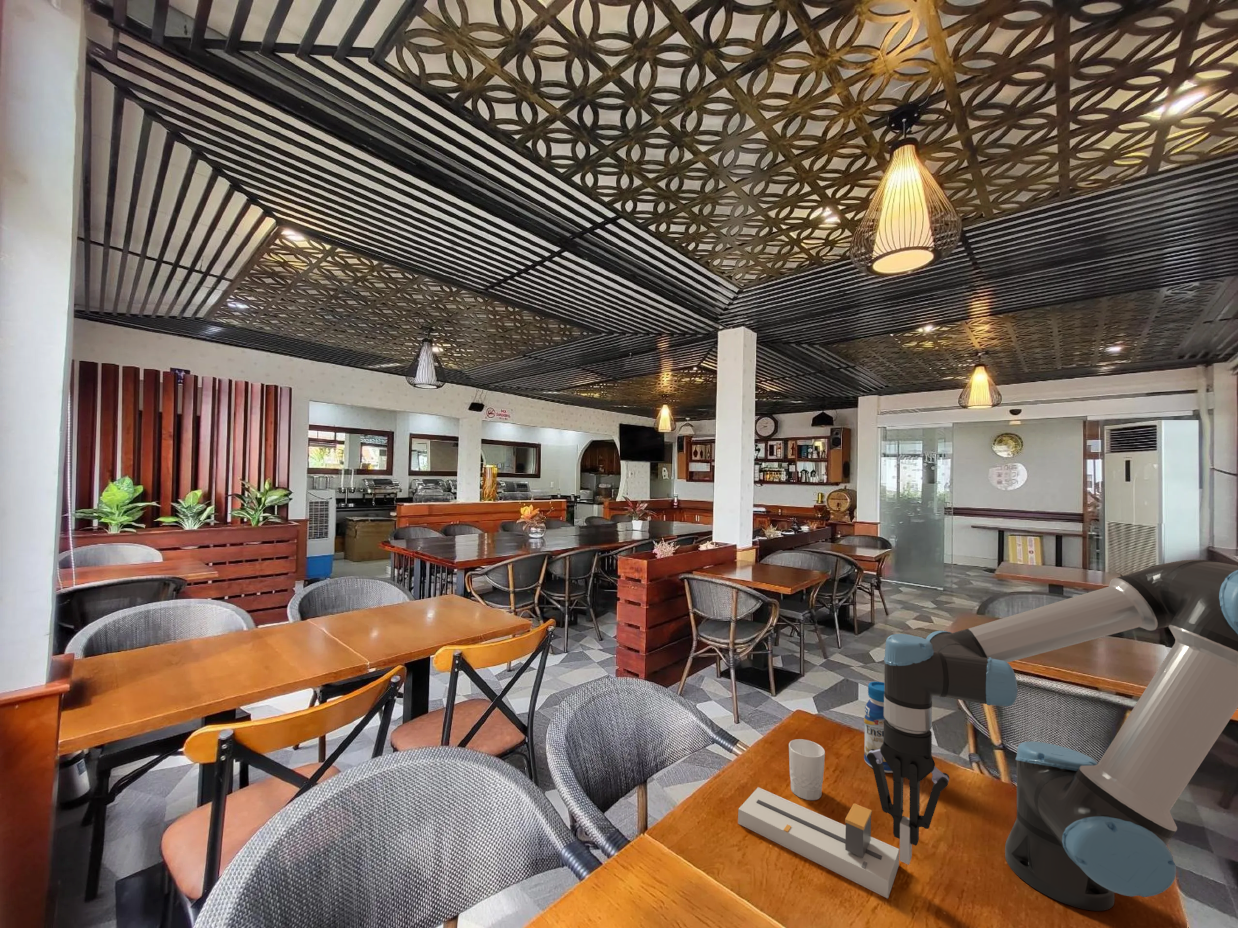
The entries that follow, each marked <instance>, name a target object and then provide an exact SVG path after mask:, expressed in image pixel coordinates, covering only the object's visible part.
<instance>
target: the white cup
mask: <svg viewBox="0 0 1238 928" xmlns="http://www.w3.org/2000/svg"><path fill="white" fill-rule="evenodd" d="M825 755H826V751H825V748H824V747H823V746H822V745H820V744H819V743H817V742H814V741H813V740H812V741H811V740H809V739H802V738H798V739H792V740H790V741H789V743H788V756H789V757H788V761H789V766H788V767H789V777H790V778H789V779H790V791H791V792H792V794H794V795H795V796H796V797H799V798H801V799H804V800H806V801H818V800H820V798H821V797H822V791H823V790H822V789H823V783H824V782H823V781H824V772H825V757H826V756H825Z"/></svg>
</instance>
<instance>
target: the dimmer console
mask: <svg viewBox="0 0 1238 928" xmlns="http://www.w3.org/2000/svg"><path fill="white" fill-rule="evenodd" d="M737 815H738V816H737V824H738V825H740V826H742V827H745V828H746V829H748V830H750V831H752V832H754V833H756V834H758V835H760V836H762V837H764V838H766V839H768V840H769V841H772V842H773V843H775V844H778V845H780V846H782V847H784V848H786V849H788V850H789V851H792V852H794V853H796V854H798V855H799V856H802V857H804V858H806V859H808V860H810V861H811V862H814V863H816V864H818V865H820V866H821V867H824V868H826V869H828V870H830V871H832V872H834V873H835V874H838V875H840V876H842V877H843V878H846V879H848V880H849V881H852V882H854V883H856V884H857V885H860V886H862V887H864V888H866V889H868V890H870V891H872V892H874V893H876V894H877V895H879V896H882V897H884V898H886V899H889V896H890V894H891V891H892V888H893V885H894V882H895V879H896V875H897V872H898V869H899V866H900V848H898V847H895V846H893V845H891V844H888V843H887V842H884V841H881V840H880V839H878V838H875V837H873V836H871V841H870V843H869V845H868V848H867V850H866V852H865V854H864V857H863V858H862V857H859V856H857V855H855V854H853V853H851V852H849V851H847V850H845V840H846V824H843V823H841V822H838V821H836V820H834V819H832V818H829V817H827V816H825V815H823V814H820V813H818V812H816V811H813V810H812V809H810V808H807V807H804V806H802V805H800V804H797V803H795V802H793V801H790V800H788V799H786V798H783V797H781V796H780V795H777V794H774V793H773V792H770V791H768V790H765V789H763V788H761V787H759V786H757V788H756V789H754V791H753V792H752V793H751V794H750V796H748V798H747V799H746V800H745V801H744V802H743V804H742V803H741V805H740V807H739V808H738V813H737Z"/></svg>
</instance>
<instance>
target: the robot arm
mask: <svg viewBox="0 0 1238 928" xmlns="http://www.w3.org/2000/svg"><path fill="white" fill-rule="evenodd" d="M1167 627H1168V629H1169V630H1170V632H1171V634H1172V635H1173V636H1172V637H1174V639H1175V641H1174V644H1173V645H1172V647H1171V648H1170V650H1169V652H1168V653H1167V655H1166V656H1165V658H1164V660H1163V661H1162V663H1161V664H1160V666H1159V667H1158V669H1157V670H1156V672H1155V674H1154V675H1153V677H1152V679H1151V680H1150V681H1149V683H1148V685H1147V686H1146V688H1145V689H1144V691H1143V693H1142V694H1141V695H1140V697H1139V699H1138V700H1137V702H1136V704H1135V705H1134V706H1133V708H1132V710H1131V711H1130V713H1129V715H1128V716H1127V718H1126V719H1125V720H1124V723H1123V724H1122V726H1121V727H1120V729H1119V730H1118V732H1117V733H1116V735H1115V737H1114V738H1113V739H1112V741H1111V743H1110V744H1109V746H1108V747H1107V749H1106V750H1105V752H1104V754H1103V755H1102V757H1101V759H1100V760H1099V762H1097V760H1095V759H1094V758H1092V757H1090V756H1089V755H1087V754H1086V753H1085V754H1084V753H1082V752H1079V751H1077V750H1075V749H1071V748H1068V747H1065V746H1061V745H1057V744H1053V743H1048V742H1042V741H1031V740H1030V741H1023V742H1020V743H1019V744H1018V745H1017V748H1016V749H1017V751H1016V752H1017V753H1016V757H1015V761H1016V819H1015V822H1014V824H1013V825H1012V828H1011V831H1010V832H1009V834H1008V836H1007V838H1006V842H1005V844H1004V845H1005V846H1004V847H1005V848H1004V853H1005V854H1004V857H1005V861H1006V864H1007V865H1008V867H1009V868H1010V870H1012V871H1013V873H1014V874H1016V876H1017V877H1019V878H1020V879H1021V880H1023V882H1025V883H1026V884H1028V885H1029V886H1030V887H1031V888H1034V889H1035V890H1036V891H1038V892H1040V893H1042V894H1043V895H1045V896H1047V897H1049V898H1050V899H1053V900H1056V901H1057V902H1060V903H1062V904H1065V905H1067V906H1068V905H1069V906H1071V907H1074V908H1077V909H1082V910H1086V911H1094V912H1103V911H1107V910H1110V909H1111V908H1113V907H1114V905H1115V894H1119V895H1121V896H1125V897H1126V896H1127V897H1133V898H1134V897H1136V896H1138V897H1139V896H1140V897H1143V898H1148V897H1154V896H1157V895H1160V894H1161V893H1164V892H1165V891H1167V890H1168V889H1169V888H1170V887H1171V886H1172V885H1173V883H1174V881H1175V880H1176V876H1177V864H1176V863H1175V861H1174V856H1173V854H1172V852H1171V849H1169V847H1168V844H1169V843H1170V841H1171V840H1172V838H1173V836H1174V835H1175V833H1176V832H1177V831H1178V826H1177V824H1176V822H1175V820H1174V818H1173V816H1172V814H1171V810H1172V808H1173V806H1174V805H1175V803H1176V802H1177V801H1178V799H1179V798H1180V796H1181V794H1183V792H1184V790H1185V788H1186V787H1187V785H1188V784H1189V783H1190V781H1191V779H1192V778H1193V776H1194V775H1195V773H1197V770H1198V768H1199V767H1200V766H1201V764H1202V763H1203V761H1204V760H1205V758H1206V756H1207V755H1208V754H1209V752H1210V750H1211V749H1212V747H1213V746H1214V745H1215V743H1216V742H1217V740H1218V739H1219V737H1220V736H1221V734H1222V733H1223V731H1224V730H1225V728H1226V726H1227V725H1228V723H1229V722H1230V720H1231V719H1232V718H1233V716H1234V714H1235V712H1236V711H1237V709H1238V565H1236V564H1229V563H1225V562H1219V561H1215V560H1210V559H1208V560H1207V559H1182V560H1176V561H1171V562H1167V563H1162V564H1158V565H1155V566H1151V567H1148V568H1145V569H1141V570H1138V571H1134V572H1131V573H1127V574H1125V575H1120V576H1117V577H1114V578H1112V579H1111V580H1110V582H1109V585H1108V586H1106V587H1103V588H1100V589H1096V590H1092V591H1089V592H1087V593H1083V594H1079V595H1076V596H1073V597H1069V598H1066V599H1062V600H1059V601H1055V602H1053V603H1049V604H1046V605H1042V606H1040V607H1037V608H1034V609H1029V610H1026V611H1023V612H1019V613H1017V614H1016V613H1015V614H1013V615H1010V616H1006V617H1002V618H999V619H996V620H992V621H990V622H986V623H982V624H979V625H976V626H973V627H969V628H965V629H961V630H959V631H954V632H951V631H947V630H936V631H933V632H931V633H930V634H928V635H927V637H925V638H924V637H921V636H917V635H912V634H907V633H894V634H891V635H889V636H888V637H886V638H885V639H886V640H885V648H884V657H883V661H884V662H883V663H884V664H883V665H884V666H883V668H884V670H883V673H884V675H883V677H884V679H883V680H884V681H883V683H884V718H885V720H884V736H883V744H882V746H881V747H880V749H878V750H874V749H871V750H870V751H869V753H868V755H867V758H868V760H869V762H870V764H871V765H872V767H873V768H872V767H871V768H872V771H873V776H874V779H875V784H876V788H877V791H878V797H879V801H880V806H881V807H880V808H881V810H882V812H883V813H886V814H889V815H890V816H891V817H892V822H893V823H892V833H893V836H894V837H895V838H896V839H899V862H902V863H904V864H906V865H908V866H910V864H911V861H912V856H913V855H912V854H913V846H915V847H917V845H918V844H919V840H920V839H919V838H920V828H923V829H925V830H928V829H929V828H930V826H931V824H932V823H931V822H932V820H933V816H934V814H935V810H936V808H937V805H938V801H939V799H940V796H941V792H942V791H944V790H945V788H947V787H948V786H949V781H950V776H949V774H948V773H947V772H946V773H945V772H942V771H941V770H940V769H938V767H936V762H935V759H934V758H933V755H932V753H933V752H932V749H933V747H932V746H933V743H932V742H933V741H932V740H933V737H932V736H933V734H932V731H931V729H932V728H933V696H935V697H940V698H946V699H947V698H948V699H953V700H957V701H958V700H959V701H965V702H970V703H978V704H982V705H987V706H1001V707H1010V706H1012V705H1014V704H1015V702H1016V700H1017V698H1018V697H1017V696H1018V681H1017V677H1016V672H1015V671H1014V669H1013V667H1012V665H1011V664H1010V663H1011V662H1015V661H1018V660H1022V659H1025V658H1029V657H1033V656H1036V655H1041V654H1044V653H1048V652H1051V651H1052V652H1053V651H1055V650H1059V649H1062V648H1066V647H1067V648H1068V647H1070V646H1073V645H1077V644H1081V643H1085V642H1089V641H1092V640H1096V639H1099V638H1104V637H1107V636H1111V635H1116V634H1118V633H1122V632H1126V631H1130V630H1133V629H1137V628H1141V629H1145V630H1146V631H1155V630H1159V629H1161V628H1162V629H1163V628H1167ZM883 757H884V759H885V761H886V762H887V764H888V766H889V767H890V769H891V770H892V772H893V773H892V782H893V788H892V789H893V790H892V791H893V792H892V793H893V794H892V797H893V798H892V797H891V794H890V793H891V792H890V789H889V785H888V782H887V777H886V772H885V771H884V767H883V763H882V762H883ZM930 774H932V776H931V781H932V782H933V785H932V788H931V791H930V794H929V797H928V801H927V804H926V807H925V809H924V813H923V815H920V804H921V803H920V800H921V799H920V798H921V796H920V795H921V793H920V791H921V788H920V787H921V786H920V785H921V784H920V783H921V781H923V780H924V779H925V778H926V777H927V776H929V775H930ZM904 779H906V780H909V782H908V783H909V784H908V785H909V817H908V816H904V815H903V813H904Z"/></svg>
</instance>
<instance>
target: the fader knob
mask: <svg viewBox="0 0 1238 928" xmlns="http://www.w3.org/2000/svg"><path fill="white" fill-rule="evenodd" d="M872 813H873V810H872V809H870V808H867V807H864V806H861V805H859V804H857V803H856V802H854V803H853V804H852V806H851V808H850V810H849V811H848V813H847V814H846V817H845V818H844V823H845V825H846V840H845V850H847V851H849V852H851V853H853V854H855V855H857V856H859V857H862V858H863V857H864V854H865V852H866V850H867V848H868V845H869V843H870V841H871V837H872V836H871V835H872V832H871V831H872V830H871V829H872V825H871V824H872Z"/></svg>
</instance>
